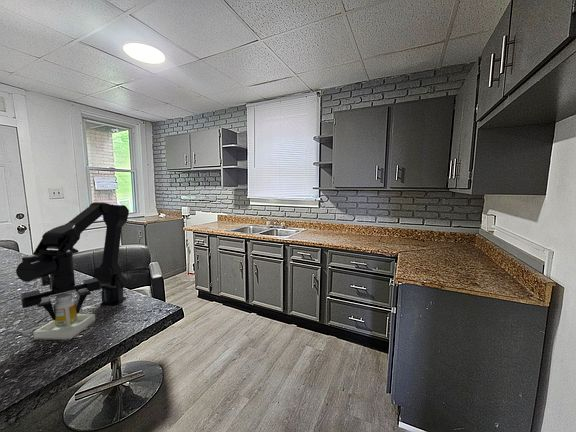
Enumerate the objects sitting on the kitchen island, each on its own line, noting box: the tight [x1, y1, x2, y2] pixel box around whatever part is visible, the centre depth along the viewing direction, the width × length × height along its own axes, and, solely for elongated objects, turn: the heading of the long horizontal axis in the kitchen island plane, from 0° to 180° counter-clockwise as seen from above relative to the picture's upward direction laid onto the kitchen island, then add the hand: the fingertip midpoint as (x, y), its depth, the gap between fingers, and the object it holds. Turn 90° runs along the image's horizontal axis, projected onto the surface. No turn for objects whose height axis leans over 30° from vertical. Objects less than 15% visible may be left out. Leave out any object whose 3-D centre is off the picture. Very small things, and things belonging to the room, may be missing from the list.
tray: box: [33, 313, 96, 340], centre depth 82 cm, size 11×11×2 cm
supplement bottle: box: [53, 292, 77, 328], centre depth 81 cm, size 5×5×10 cm
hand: (66, 316), depth 81 cm, fingers closed on supplement bottle, 5 cm apart
